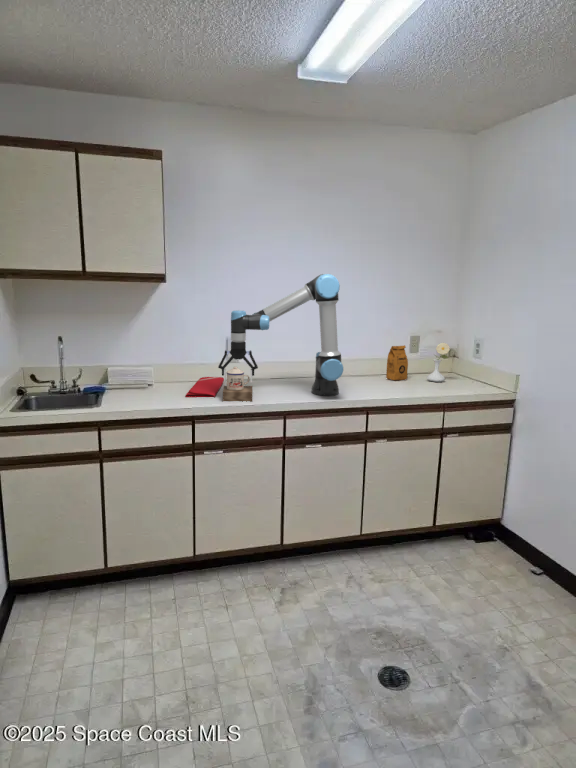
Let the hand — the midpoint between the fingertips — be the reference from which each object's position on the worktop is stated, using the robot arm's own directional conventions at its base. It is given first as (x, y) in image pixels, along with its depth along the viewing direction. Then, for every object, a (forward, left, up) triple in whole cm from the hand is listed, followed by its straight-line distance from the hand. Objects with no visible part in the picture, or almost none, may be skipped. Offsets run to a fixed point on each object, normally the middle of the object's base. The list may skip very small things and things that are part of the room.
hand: (238, 381), depth 265 cm
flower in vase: (-125, -50, -9) cm, 135 cm away
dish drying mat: (+18, -21, -9) cm, 29 cm away
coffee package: (-100, -54, -9) cm, 114 cm away
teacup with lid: (0, 0, -4) cm, 4 cm away
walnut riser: (0, 0, -9) cm, 9 cm away
